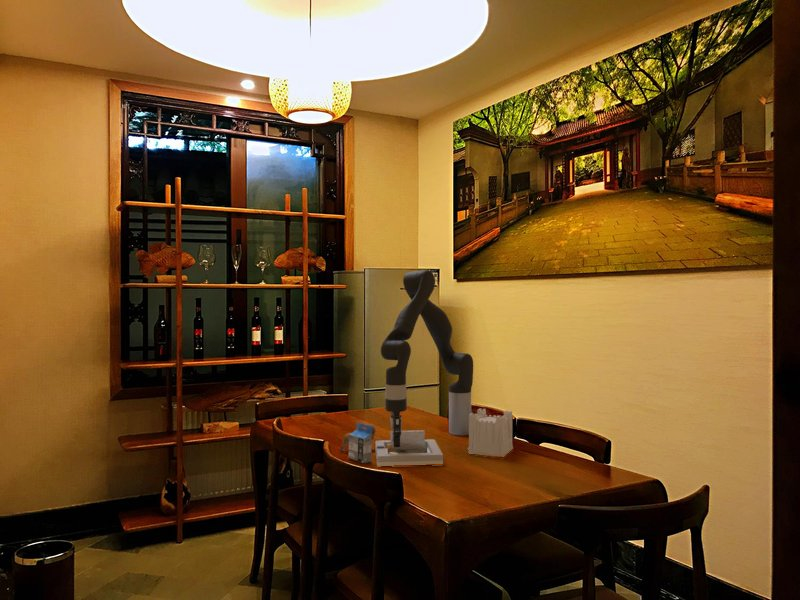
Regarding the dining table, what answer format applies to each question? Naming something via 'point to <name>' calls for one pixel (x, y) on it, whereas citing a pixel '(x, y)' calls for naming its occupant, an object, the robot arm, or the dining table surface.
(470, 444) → the castle model
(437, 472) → the dining table surface
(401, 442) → the dial
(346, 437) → the lion figurine
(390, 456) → the housing
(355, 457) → the label tape box
